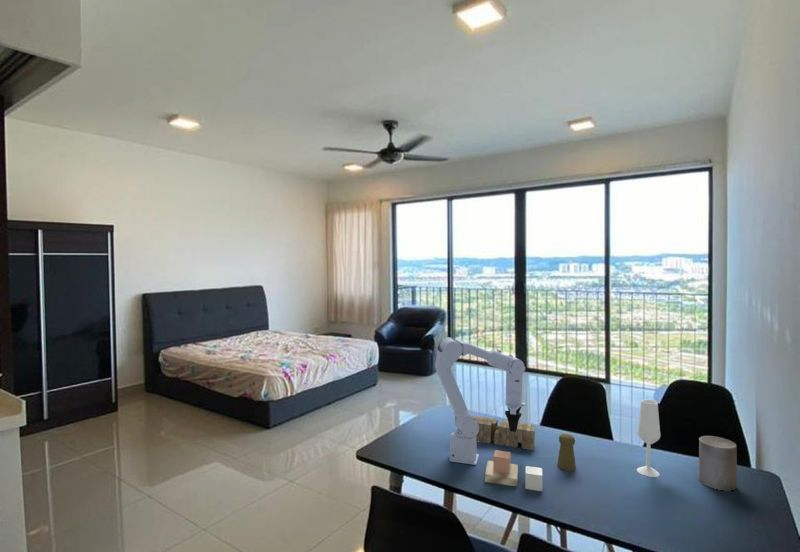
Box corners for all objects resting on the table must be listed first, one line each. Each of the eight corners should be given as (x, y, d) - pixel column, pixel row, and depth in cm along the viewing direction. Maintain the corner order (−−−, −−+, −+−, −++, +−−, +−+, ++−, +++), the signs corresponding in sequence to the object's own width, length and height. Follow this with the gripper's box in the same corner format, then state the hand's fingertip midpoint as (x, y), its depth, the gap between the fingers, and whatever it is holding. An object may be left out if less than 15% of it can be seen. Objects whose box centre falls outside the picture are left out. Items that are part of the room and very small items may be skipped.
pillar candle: (729, 479, 138) (729, 433, 138) (742, 494, 129) (742, 445, 128) (694, 474, 141) (694, 430, 141) (704, 489, 132) (704, 441, 132)
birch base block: (484, 483, 136) (485, 474, 136) (487, 469, 145) (487, 460, 145) (517, 488, 133) (517, 478, 133) (517, 473, 142) (517, 464, 142)
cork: (577, 471, 143) (578, 439, 142) (558, 469, 144) (559, 437, 144) (574, 463, 149) (574, 432, 148) (555, 461, 150) (556, 430, 150)
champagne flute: (658, 469, 144) (659, 400, 143) (661, 478, 138) (662, 406, 137) (635, 465, 147) (637, 397, 146) (637, 474, 141) (638, 403, 140)
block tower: (534, 445, 166) (461, 432, 176) (535, 424, 166) (462, 412, 176) (533, 453, 159) (457, 439, 169) (534, 431, 158) (458, 418, 169)
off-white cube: (525, 489, 132) (525, 473, 131) (525, 481, 136) (525, 465, 136) (542, 491, 130) (542, 475, 130) (541, 483, 135) (542, 468, 135)
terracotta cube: (493, 471, 137) (493, 456, 137) (495, 464, 142) (495, 450, 142) (509, 474, 136) (509, 458, 136) (510, 467, 140) (510, 452, 140)
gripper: (525, 397, 146) (524, 436, 146) (525, 386, 159) (525, 421, 160) (504, 395, 148) (503, 433, 148) (506, 384, 162) (506, 419, 162)
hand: (513, 427), depth 154 cm, fingers open, 7 cm apart
